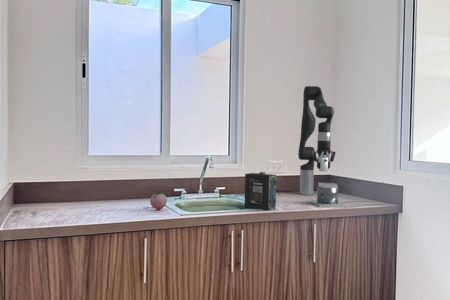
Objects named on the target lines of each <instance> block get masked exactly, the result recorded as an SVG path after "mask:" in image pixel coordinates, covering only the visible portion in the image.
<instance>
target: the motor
mask: <svg viewBox="0 0 450 300" xmlns="http://www.w3.org/2000/svg"><path fill="white" fill-rule="evenodd" d="M316 187H317V188H316V199H309V203H310V204H312V203H313V204H312V205H314V204H315V205H314V206H316V205H317V207H318V206H319V208H345V207H347V203H344V202H341V201H340V200H339V186H338V184H337V183H333V182H318V186H316Z"/></svg>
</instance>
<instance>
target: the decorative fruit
mask: <svg viewBox="0 0 450 300" xmlns="http://www.w3.org/2000/svg"><path fill="white" fill-rule="evenodd" d="M149 203H150V205H151V207H152V208H154V209H155V210H158V211H161V210H162V209H163V208H165V207H166V205H167V203H168V198H167V196H166V194H165V193H163V192H160V191H158V192H157V193H154V194H153V195H152V196H151V197H150V200H149Z"/></svg>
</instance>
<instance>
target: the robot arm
mask: <svg viewBox="0 0 450 300" xmlns="http://www.w3.org/2000/svg"><path fill="white" fill-rule="evenodd" d="M302 99H303V102H302V103H303V104H302V116H301V126H300V128H301V129H300V140H299V146H298V153H297V154H298V159H299V160H301V161H307V162H306V163H303V164H301V165H300V169H299V171H300V172H299V175H300V176H299V178H300V179H299V195H303V196H312V195H314V182H315V179H314V177H315V176H314V174H315V173H314V172H315V168H314V167H315V162H316V168H317V169H318V170H319V169H320V160H321V159H322V156H323V155H327V158H328V170H329V169H330V168H331V163H332V162H334V160H335V157H336V151H332V150H331V145H332V144H331V139H332V137H331V127H332V126H331V125H332V120H333V117H334V114H335V110H334V108H333V107H332V106H328V103H327V102H326V101H325V99H324V94H323V92H322V88H321V87H320V86H318V85H317V86H315V85H312V86H311V85H307V86H304V89H303V98H302ZM310 101H313V106H314V108H315V114H314V112H313V111H312V110H311V107H310ZM316 118H318V119H326V120H325V121H321V122H318V128H317V141H316V142H317V149H316V150H315V148H314V147H313V146H306V144H307V141H308V139H309V138H310V137H311V136H312V134H313V133H314V132H315V129H316ZM317 155H318V156H317Z"/></svg>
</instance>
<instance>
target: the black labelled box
mask: <svg viewBox="0 0 450 300" xmlns="http://www.w3.org/2000/svg"><path fill="white" fill-rule="evenodd" d="M244 174H245V175H244V185H243V188H242V189H243V190H244V197H243V198H242V199H244V208H247V209H253V210H259V209H262V210H261V211H266V210H269V211H272V210H271V209H273V210H275V209H276V208H277V205H276V203H277V197H276V193H277V190H276V189H277V179H278V178H277V175H276V174H272V173H270V174H269V173H266V172H265V171H259V173H258V172H257V173H256V172H249V173H244Z"/></svg>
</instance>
